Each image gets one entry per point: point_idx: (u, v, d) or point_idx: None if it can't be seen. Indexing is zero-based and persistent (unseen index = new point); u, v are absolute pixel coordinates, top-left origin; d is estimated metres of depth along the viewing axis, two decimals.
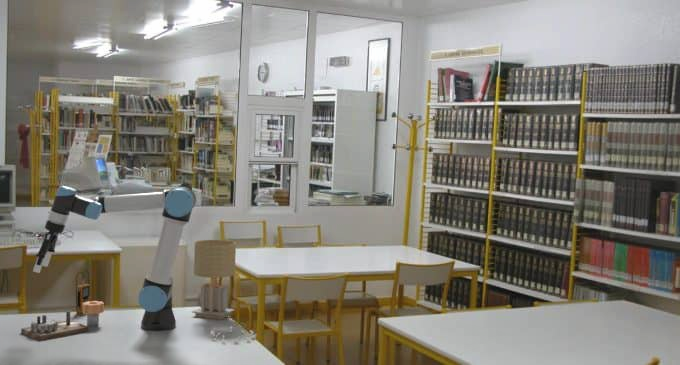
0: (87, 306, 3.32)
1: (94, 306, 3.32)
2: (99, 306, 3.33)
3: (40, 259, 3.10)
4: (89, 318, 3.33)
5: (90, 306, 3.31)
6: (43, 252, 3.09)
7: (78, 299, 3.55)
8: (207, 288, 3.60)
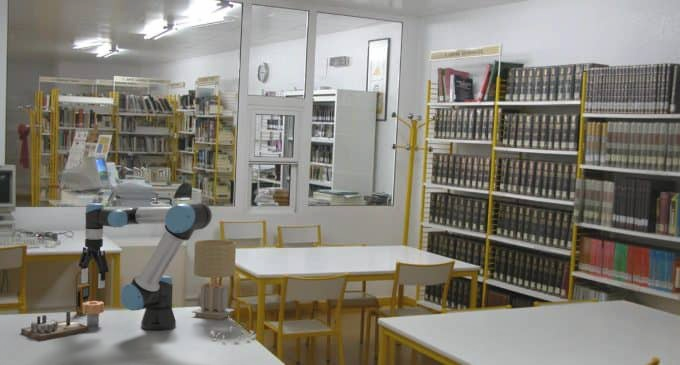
0: (87, 306, 3.32)
1: (94, 306, 3.32)
2: (99, 306, 3.33)
3: (104, 274, 3.29)
4: (89, 318, 3.33)
5: (90, 306, 3.31)
6: (106, 267, 3.29)
7: (78, 299, 3.55)
8: (207, 288, 3.60)
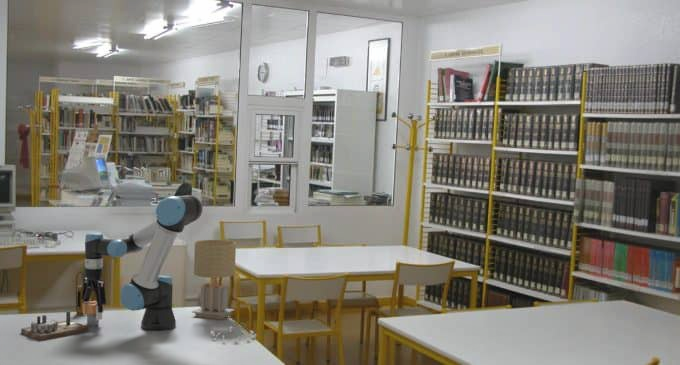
0: (87, 306, 3.32)
1: (94, 306, 3.32)
2: None
3: (101, 306, 3.31)
4: (89, 318, 3.33)
5: (90, 306, 3.31)
6: (104, 299, 3.30)
7: (78, 299, 3.55)
8: (207, 288, 3.60)
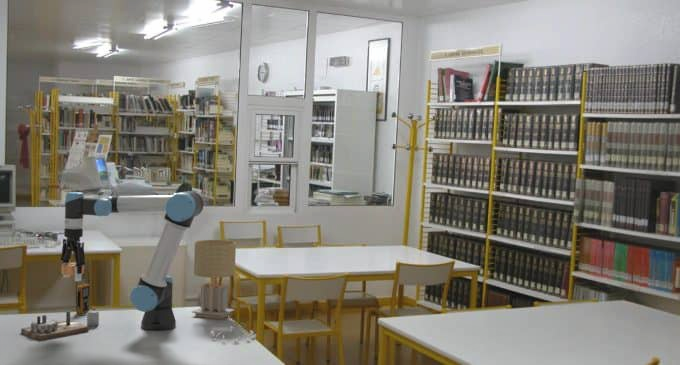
0: (66, 267, 3.23)
1: (73, 267, 3.23)
2: None
3: (80, 267, 3.23)
4: (89, 318, 3.33)
5: (69, 267, 3.22)
6: (83, 260, 3.22)
7: (78, 299, 3.55)
8: (207, 288, 3.60)
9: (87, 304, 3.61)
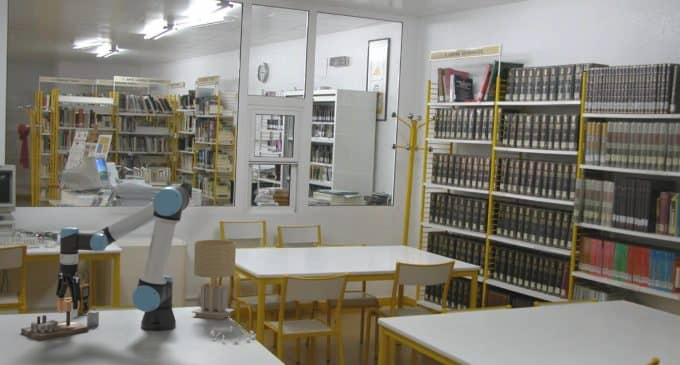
0: (62, 303, 3.22)
1: (69, 303, 3.22)
2: None
3: (76, 303, 3.22)
4: (89, 318, 3.33)
5: (65, 303, 3.21)
6: (79, 296, 3.21)
7: None
8: (207, 288, 3.60)
9: (87, 304, 3.61)
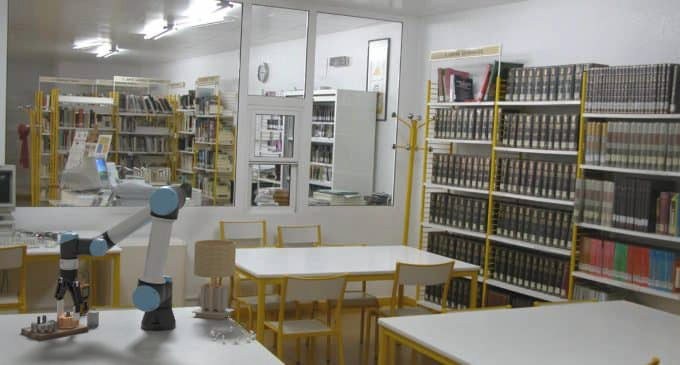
0: (62, 319, 3.23)
1: (69, 319, 3.23)
2: None
3: (78, 306, 3.21)
4: (89, 318, 3.33)
5: (65, 319, 3.22)
6: (81, 299, 3.20)
7: None
8: (207, 288, 3.60)
9: (87, 304, 3.61)
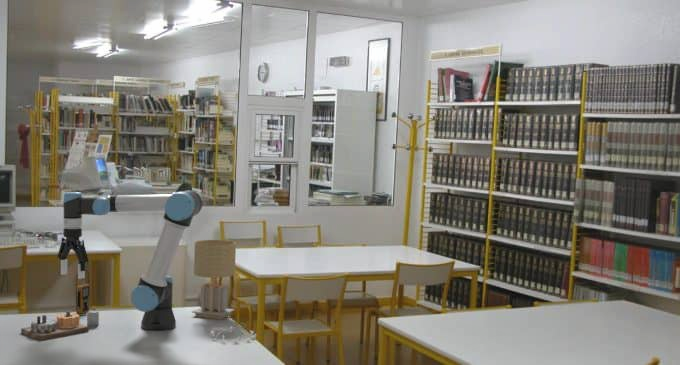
0: (62, 319, 3.23)
1: (69, 319, 3.23)
2: (74, 319, 3.24)
3: (83, 265, 3.21)
4: (89, 318, 3.33)
5: (65, 319, 3.22)
6: (86, 257, 3.21)
7: (78, 299, 3.55)
8: (207, 288, 3.60)
9: (87, 304, 3.61)
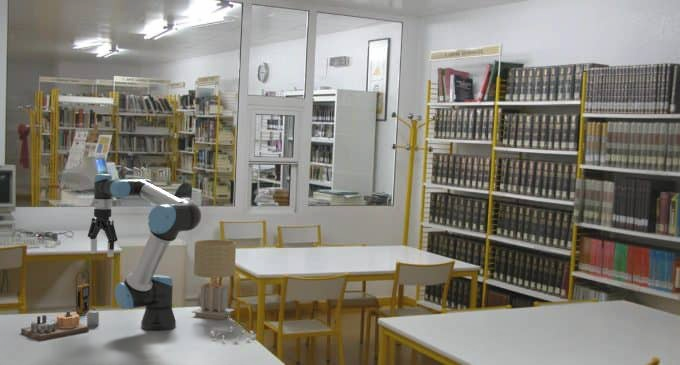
0: (62, 319, 3.23)
1: (69, 319, 3.23)
2: (74, 319, 3.24)
3: (113, 243, 3.35)
4: (89, 318, 3.33)
5: (65, 319, 3.22)
6: (115, 236, 3.34)
7: (78, 299, 3.55)
8: (207, 288, 3.60)
9: (87, 304, 3.61)
